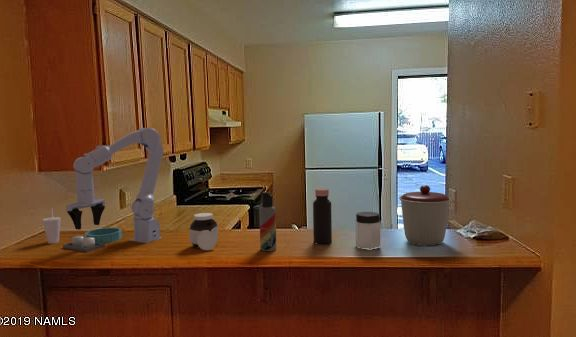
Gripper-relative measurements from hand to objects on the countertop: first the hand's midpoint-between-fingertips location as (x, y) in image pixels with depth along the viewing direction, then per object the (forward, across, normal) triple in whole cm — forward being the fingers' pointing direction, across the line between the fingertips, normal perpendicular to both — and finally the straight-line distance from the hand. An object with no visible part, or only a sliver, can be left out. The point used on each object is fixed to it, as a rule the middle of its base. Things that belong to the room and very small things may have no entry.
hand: (87, 227), depth 155 cm
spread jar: (+8, -20, +38) cm, 44 cm away
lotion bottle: (+8, -26, +61) cm, 67 cm away
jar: (+8, -43, +92) cm, 102 cm away
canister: (+8, -57, +109) cm, 123 cm away
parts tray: (+8, 0, -3) cm, 9 cm away
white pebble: (+8, 0, -6) cm, 10 cm away
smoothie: (+8, 0, -21) cm, 23 cm away
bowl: (+8, -11, -6) cm, 15 cm away
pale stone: (+8, 0, 0) cm, 8 cm away
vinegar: (+8, -42, +75) cm, 86 cm away
